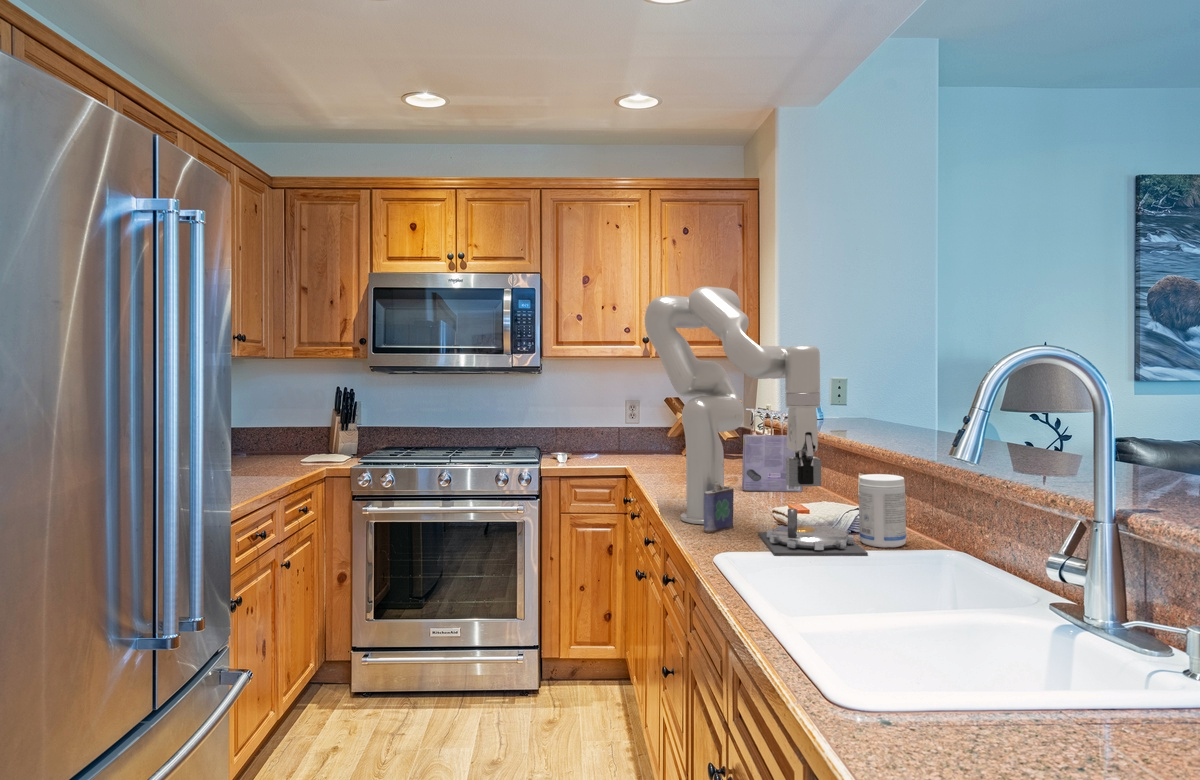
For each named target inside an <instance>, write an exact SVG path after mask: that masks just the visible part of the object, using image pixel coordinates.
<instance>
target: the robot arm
mask: <svg viewBox="0 0 1200 780" xmlns="http://www.w3.org/2000/svg"><path fill="white" fill-rule="evenodd" d="M741 306H742V305H741V300H740V298H739V296H738V294H737V293H736V292H735V291H734V290H732V289H730V288H727V287H719V286H718V287H717V286H701V287H698V288H697V287H696V288H695V289H694V290H692V292H691V293H690V294H689V296H682V295H670V294H669V295H661V296H657V297H656V298H653V299H652V300H651V301H650V302H649V303H648V305H647V306H646V311H645V315H644V328H645V331H646V335H647V336H648V339H649V342H650V343H651V345H652V346H653V348H654V349H655V351H656V353H657V355H658V356H659V359H660V361H661V364H662V366H663V368H664V370H665V372H666V374H667V377H668V379H669V381H670V383H671V385H672V388H673V390H674V391H675V393H676V394H678V395H679V396H682V397H686V398H687V397H688V398H691V397H692V398H691V399H689V400H688V401H687V402H686V403H685V404H684V405H683V408H682V410H681V420H682V426H683V431H684V439H685V462H686V463H685V464H686V466H685V467H686V469H685V471H686V478H685V481H686V483H685V484H686V511H685V512H683V513H681V514H680V520H681V521H682V522H685V523H689V524H695V525H704V492H706V491H711V490H715V488H714V487H715V483H714V482H716V481H717V482H720V483H721V484H720V486H721V487H723V486H725V465H724V463H725V457H724V453H725V452H724V447H723V443H722V441H721V438H720V435H719V433H725V432H732V431H735V430H737V429H738V428H740V427H741V425H742V424H743V422H744V418H745V411H744V406H743V403H742V401H741V399H740V396H739V394H738V393H737V391H736V388H735V386H734V384H733V383H732V381H731V379H730V376H729V375H728V373H727V371H726V370H725V368H724V367H723V366H722V365H721V364H719V363H718V362H716V361H713V360H700V359H698V358H697V356H696V355H695V354H694V352H693V350H692V348H691V345H690V344H689V342H688V341H687V339H686V338H685V337H684V336H683V335H682V334H681V333H680V332H679V331H678V330H677V329H688V330H689V329H691V330H692V329H693V330H694V329H702V328H707V329H708V330H709V331H710V332H712V333H713V334H714V335H715V336H716V337H717V338H718V339H719V340H721V345H722V349H723V351H724V354H725V356H726V358H728V360H729V361H730V362H731V363H732V364H733V365H734V366H735V367H737V368H738V370H740V371H741V372H742V373H743V374H745V375H746V376H747V377H749V378H752V379H757V380H762V379H763V380H766V379H773V380H775V379H778V380H779V379H785V380H784V381H785V383H784V385H785V386H784V387H785V393H784V394H785V397H784V398H785V408H786V409H787V408H788V411H787V412H788V413H787V423H786V424H787V428H786V436H787V448H788V449H789V450H791V451H793V452H794V457H797V458H799V459H800V466H798V483H799V484H813V483H814V474H813V457H815V456H814V455H815V453H816V452H817V451H818V446H819V445H818V443H819V439H818V438H819V436H818V435H819V433H818V432H819V431H818V416H817V415H818V414H817V409H818V408H819V409H820V408H821V364H820V362H821V354H820V349H819V347H817V346H815V345H792V346H777V345H760V344H758V343H756V342H755V341H754V340H753V339H752V338H750V336H748V335H747V334H746V333H747V331H748V328H749V326H750V325H749V324H750V319H749V316H748V315H747V314H746V313H745V312H743V311H742V310H741ZM713 483H714V484H713ZM723 488H724V487H723Z"/></svg>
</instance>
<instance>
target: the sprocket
mask: <svg viewBox="0 0 1200 780" xmlns="http://www.w3.org/2000/svg"><path fill="white" fill-rule="evenodd" d="M766 532H767V537H770V542H772V543H780V544H784V545H787V547H790V548H797V547H800V548H814V550H824V548H835V547H836V548H840V549H841V548H846V544H847V543H850V544H853V543H854V542H855V538H854V537H855V535H852V534H850V531H849V530H846V529H837V528H835V527H834V528H833V527H831V526H829V525H828V526H827V525H821V526H820V525H806V524H805V523H803V524H800V523H798V509H797V508H787V525H782V524H781V525H776V526H775V528H774V529H770V528H769V529H767V530H766Z"/></svg>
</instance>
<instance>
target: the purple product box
mask: <svg viewBox="0 0 1200 780" xmlns="http://www.w3.org/2000/svg"><path fill="white" fill-rule="evenodd" d="M742 436H743V437H742V476H741V477H742V479H741V480H742V481H741V482H742V484H741V485H742V486H741V488H742V490H743V491H744V492H769V493H770V492H773V493H775V492H777V493H778V492H793V493H794V492H796V493H798V492H799V493H802V492H803V486H799V487H789V486H788V485H787V484H786V458H789V457H794V452H793V451H791V450H789V449H788V448H787V435H784V434H783V435H781V434H780V435H779V434H776V435H775V434H743V435H742Z"/></svg>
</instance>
